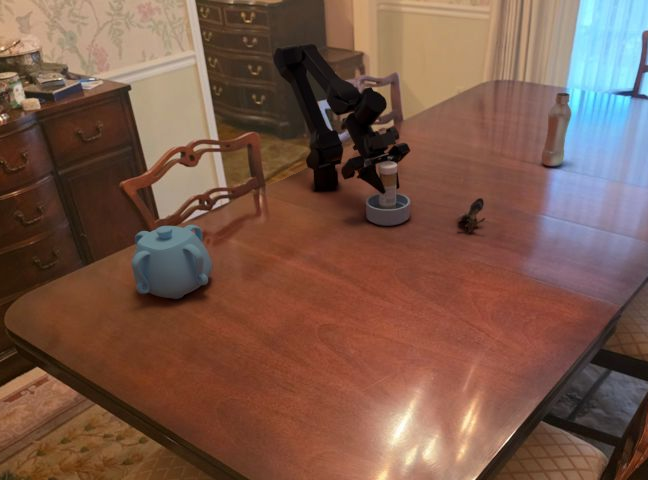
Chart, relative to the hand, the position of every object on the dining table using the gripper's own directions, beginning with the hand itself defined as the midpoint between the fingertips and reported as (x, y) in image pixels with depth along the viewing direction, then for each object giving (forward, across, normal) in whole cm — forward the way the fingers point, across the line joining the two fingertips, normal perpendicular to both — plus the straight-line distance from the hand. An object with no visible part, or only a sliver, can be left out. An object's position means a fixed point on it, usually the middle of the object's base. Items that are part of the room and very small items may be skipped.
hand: (391, 190), depth 154 cm
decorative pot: (+2, -57, +10) cm, 58 cm away
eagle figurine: (+17, +12, -6) cm, 22 cm away
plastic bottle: (+8, +61, +3) cm, 61 cm away
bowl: (+5, 0, +6) cm, 8 cm away
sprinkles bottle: (+4, 0, +6) cm, 7 cm away
